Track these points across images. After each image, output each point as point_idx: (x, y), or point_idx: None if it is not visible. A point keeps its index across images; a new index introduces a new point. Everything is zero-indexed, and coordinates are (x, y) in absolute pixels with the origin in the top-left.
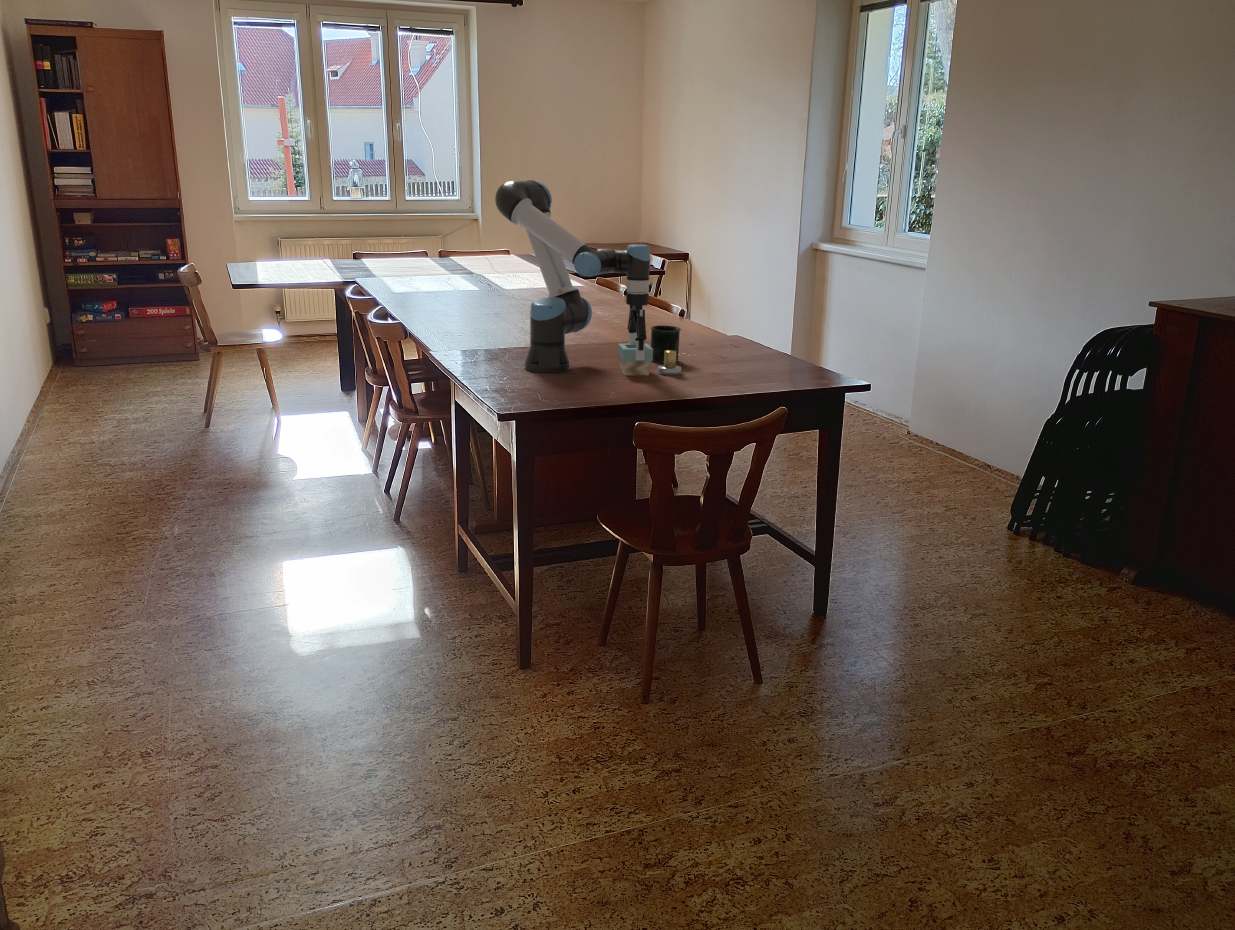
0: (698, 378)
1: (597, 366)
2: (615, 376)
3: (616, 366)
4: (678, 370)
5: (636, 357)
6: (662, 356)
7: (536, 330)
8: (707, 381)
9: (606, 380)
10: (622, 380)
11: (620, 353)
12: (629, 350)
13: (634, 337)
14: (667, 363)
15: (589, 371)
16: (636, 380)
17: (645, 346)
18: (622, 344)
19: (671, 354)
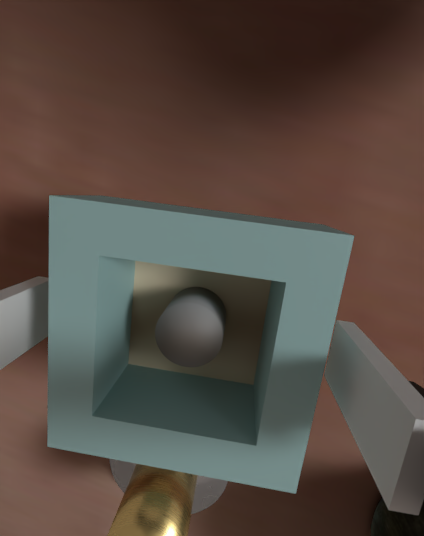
0: (63, 509)
1: (420, 113)
2: (132, 151)
3: (386, 237)
4: (120, 480)
5: (26, 282)
6: (398, 528)
7: None
8: (11, 517)
9: (41, 67)
10: (38, 163)
11: (211, 212)
12: (54, 252)
13: (372, 443)
14: (137, 466)
15: (286, 15)
16: (36, 237)
17: (167, 434)
18: (293, 264)
19: (108, 533)
